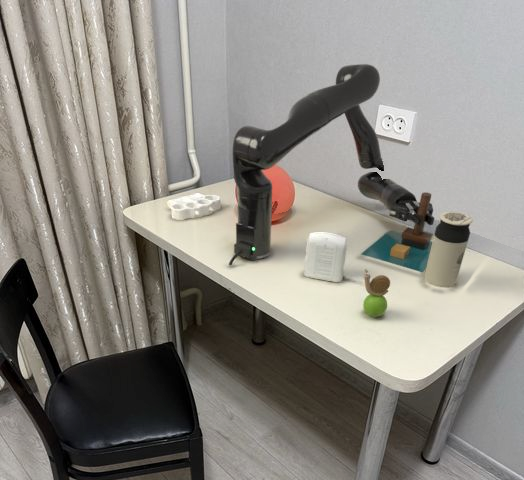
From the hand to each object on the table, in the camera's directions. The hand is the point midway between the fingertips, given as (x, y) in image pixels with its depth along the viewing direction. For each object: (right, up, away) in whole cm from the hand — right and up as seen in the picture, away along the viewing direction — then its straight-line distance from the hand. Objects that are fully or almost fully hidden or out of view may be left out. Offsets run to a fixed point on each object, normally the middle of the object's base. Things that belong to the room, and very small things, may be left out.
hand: (427, 222), depth 137 cm
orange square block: (-7, -9, +2) cm, 11 cm away
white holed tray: (-68, +11, +29) cm, 75 cm away
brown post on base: (-1, -4, +8) cm, 9 cm away
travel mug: (0, -18, -8) cm, 20 cm away
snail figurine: (-20, -27, -20) cm, 39 cm away
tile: (-5, -8, +6) cm, 11 cm away
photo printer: (-29, -16, -6) cm, 34 cm away
